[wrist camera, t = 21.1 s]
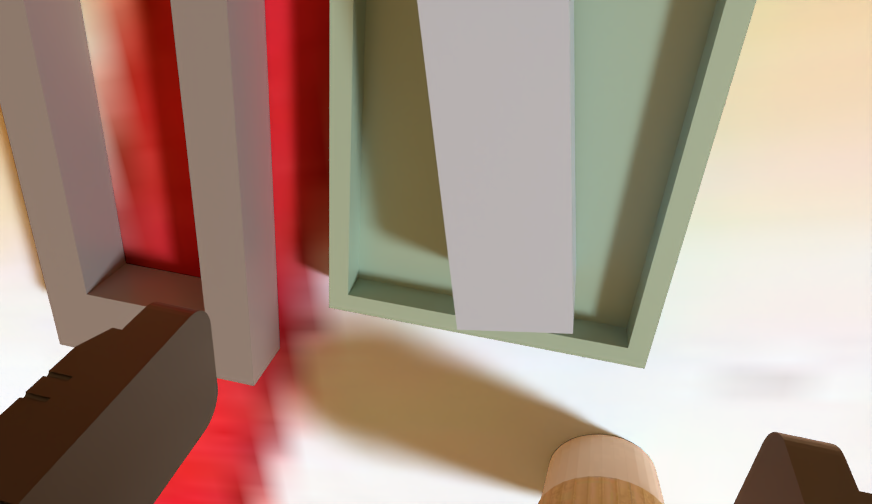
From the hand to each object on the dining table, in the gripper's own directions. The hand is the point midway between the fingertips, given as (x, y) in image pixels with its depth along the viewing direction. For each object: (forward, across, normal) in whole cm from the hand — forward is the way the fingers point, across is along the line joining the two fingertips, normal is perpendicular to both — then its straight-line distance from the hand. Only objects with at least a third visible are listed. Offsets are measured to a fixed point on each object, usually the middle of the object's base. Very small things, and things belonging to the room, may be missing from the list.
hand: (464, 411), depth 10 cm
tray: (+22, +1, +3) cm, 22 cm away
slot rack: (+22, +19, +9) cm, 30 cm away
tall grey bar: (+21, +2, -1) cm, 21 cm away
